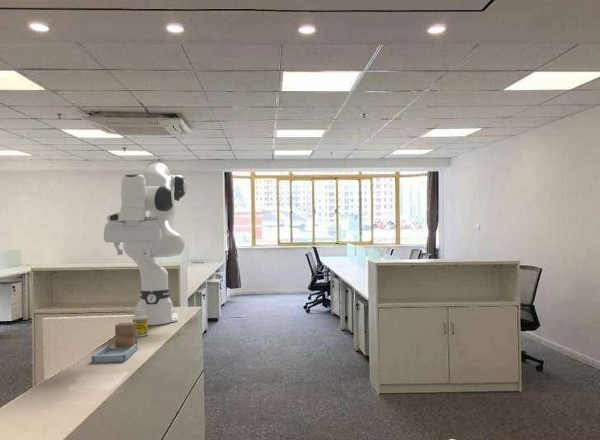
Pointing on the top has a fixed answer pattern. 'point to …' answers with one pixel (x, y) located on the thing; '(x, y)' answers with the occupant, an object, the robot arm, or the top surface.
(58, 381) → the top surface
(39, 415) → the top surface
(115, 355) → the tray
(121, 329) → the wooden block
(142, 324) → the supplement bottle
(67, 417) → the top surface
